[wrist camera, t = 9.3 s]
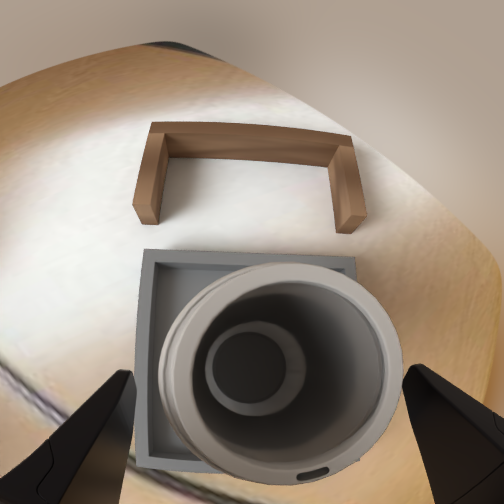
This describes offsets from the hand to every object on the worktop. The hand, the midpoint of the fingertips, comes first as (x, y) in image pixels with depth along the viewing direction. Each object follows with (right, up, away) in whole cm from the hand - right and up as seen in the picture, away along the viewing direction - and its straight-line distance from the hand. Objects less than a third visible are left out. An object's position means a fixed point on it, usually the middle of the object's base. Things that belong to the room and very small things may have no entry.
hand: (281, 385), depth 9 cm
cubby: (-1, +9, +14) cm, 17 cm away
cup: (-1, -3, +10) cm, 10 cm away
